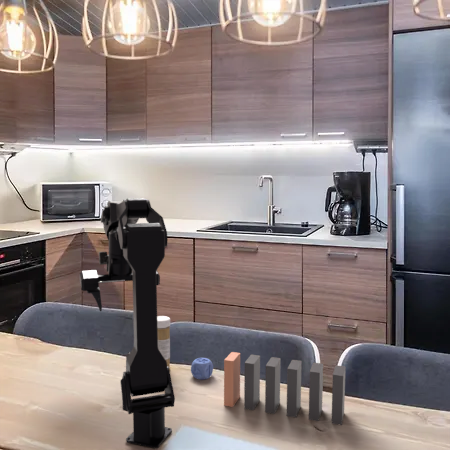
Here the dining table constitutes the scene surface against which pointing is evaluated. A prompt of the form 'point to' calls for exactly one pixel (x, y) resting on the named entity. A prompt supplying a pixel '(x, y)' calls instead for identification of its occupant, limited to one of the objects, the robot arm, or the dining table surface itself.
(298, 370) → the domino
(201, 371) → the decorative dice
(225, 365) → the domino
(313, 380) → the domino
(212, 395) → the dining table surface
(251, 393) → the domino
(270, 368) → the domino
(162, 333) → the sprinkles bottle
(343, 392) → the domino
